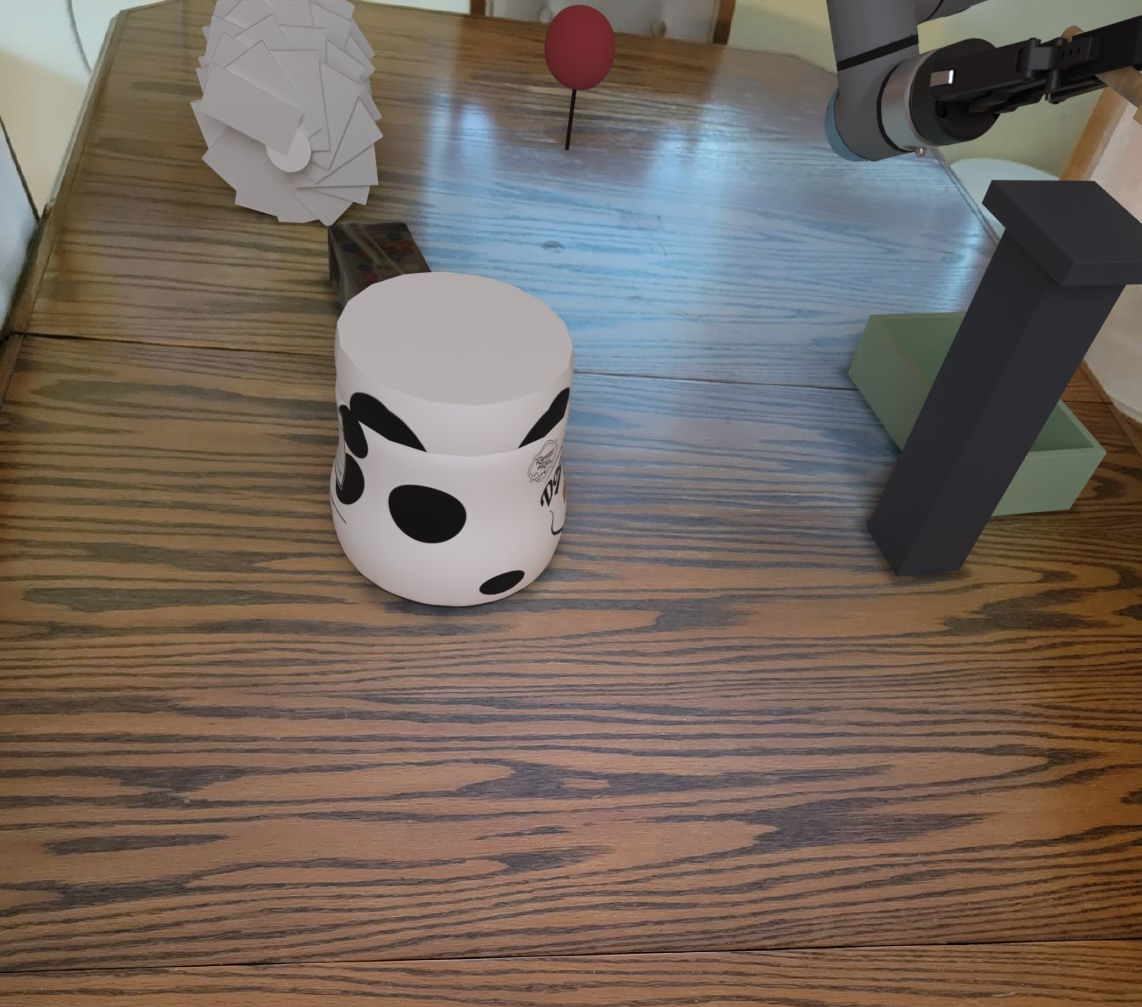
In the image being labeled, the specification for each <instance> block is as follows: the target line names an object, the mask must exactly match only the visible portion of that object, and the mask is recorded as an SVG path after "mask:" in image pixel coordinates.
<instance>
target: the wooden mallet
mask: <svg viewBox="0 0 1142 1007" xmlns="http://www.w3.org/2000/svg"><path fill="white" fill-rule="evenodd" d="M1084 32H1085V31H1084V30H1083V29H1082V28H1080V27H1079V26H1078V25H1071V26H1068V27H1067V28H1066V29H1064V31H1063V32H1062V33H1061V35H1060V37H1063V38H1067V39H1068V41H1067V43H1068V42H1071V41H1072V36H1074V35H1077V34H1080V33H1084ZM1095 76H1097V77H1098V78H1099V79H1100V80H1102V81H1103V82H1104V83H1106V84H1107V85H1108V86H1109V88H1110V89H1112V90H1113V91H1115V92H1116V93H1117V94H1118V95H1120V96H1121V97H1122V98H1124V99H1125V100H1127V101H1128V102H1129V103H1130V104H1132V105H1133V106H1134V107H1135V108H1137V109H1136V111H1135V113H1134V115H1133V116H1132V120H1134V121H1135V122H1136V123H1138V124H1139V125H1140V126H1142V72H1141V71H1138V70H1136V69H1135V68H1133V67H1132V66H1129V67H1125V68H1121V69H1117V70H1113V71H1108V72H1104V73H1101V74H1097V75H1095Z"/></svg>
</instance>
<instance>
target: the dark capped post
mask: <svg viewBox="0 0 1142 1007" xmlns="http://www.w3.org/2000/svg"><path fill="white" fill-rule="evenodd" d="M981 205H982V206H983V207H984V208H985V209H986V210H987V211H988V212H989V213H990V214H991V215H992V216H993V217H994V218H995V219H996V220H997V221H998V222H999V223H1000V224H1001V225H1002V227H1004V231H1003V232H1002V234H1001V237H1000V238H999V241H998V243H997V245H996V248H995V250H994V252H993V254H992V256H991V259H990V261H989V263H988V264H987V267H986V268H985V271H984V274H983V276H982V278H981V280H980V282H979V284H978V287H977V288H976V291H975V293H974V295H973V297H972V299H971V302H970V303H969V306H968V308H967V309H966V311H965V312H966V314H965V316H964V319H963V321H962V323H961V325H960V327H959V329H958V331H957V334H956V336H955V338H954V340H953V342H952V344H951V347H950V349H949V351H948V353H947V355H946V357H945V359H944V362H943V364H942V366H941V368H940V370H939V372H938V375H937V377H936V379H935V381H934V383H933V385H932V387H931V390H930V392H929V394H928V396H927V398H926V400H925V402H924V405H923V407H922V409H921V411H920V413H919V415H918V418H917V420H916V422H915V424H914V426H913V428H912V430H911V433H910V435H909V437H908V439H907V441H906V443H905V446H904V448H903V450H902V451H901V452H900V454H899V455H898V456H899V457H898V458H897V461H896V463H895V465H894V467H893V469H892V471H891V474H890V476H889V478H888V480H887V482H886V484H885V486H884V489H883V491H882V493H881V495H880V498H879V500H878V502H877V504H876V506H875V508H874V510H873V512H872V515H871V517H870V519H869V521H868V523H867V525H866V528H865V529H866V530H867V532H868V533H869V535H870V536H871V538H872V540H873V541H874V543H875V545H876V547H877V548H878V550H879V551H880V553H881V554H882V556H883V558H884V560H885V561H886V562H887V565H888V566H889V567H890V570H891V571H892V572H893V575H894V576H895V577H897V578H900V577H910V576H920V575H929V574H939V573H940V574H941V573H949V572H958V571H961V569H962V567H963V565H964V564H965V563H966V560H967V559H968V557H969V555H970V553H971V552H972V550H973V548H974V546H975V545H976V543H977V541H978V540H979V538H980V536H981V534H982V532H983V531H984V530H985V527H986V526H987V524H988V522H989V521H990V519H991V517H993V516H992V514H993V512H994V510H995V509H996V507H997V505H998V504H999V502H1000V500H1001V499H1002V497H1003V495H1004V493H1005V492H1006V490H1007V488H1008V487H1009V485H1010V483H1011V481H1012V480H1013V478H1014V476H1015V475H1016V473H1017V471H1018V469H1019V468H1020V466H1021V464H1022V463H1023V461H1024V459H1025V457H1026V456H1027V454H1028V452H1029V451H1030V449H1031V447H1032V445H1033V444H1034V442H1035V440H1036V439H1037V437H1038V435H1039V433H1040V432H1041V430H1042V428H1043V427H1044V425H1045V423H1046V421H1047V420H1048V418H1049V416H1050V415H1051V413H1052V411H1053V409H1054V408H1055V406H1056V404H1057V403H1058V401H1059V399H1061V398H1062V396H1063V394H1064V392H1065V391H1066V389H1067V388H1068V386H1069V384H1070V382H1071V380H1072V379H1073V378H1074V375H1075V373H1076V372H1077V370H1078V368H1079V367H1080V365H1081V363H1082V362H1083V360H1084V358H1085V356H1086V355H1087V354H1088V352H1089V349H1090V348H1091V346H1092V345H1093V343H1094V341H1095V340H1096V338H1097V336H1098V334H1099V332H1100V331H1101V329H1102V327H1103V325H1104V324H1105V323H1106V320H1107V319H1108V317H1109V316H1110V314H1111V312H1112V310H1113V308H1114V307H1115V305H1116V303H1117V301H1118V300H1119V298H1120V296H1121V295H1122V294H1123V291H1125V288H1126V286H1132V285H1133V286H1135V285H1136V286H1137V285H1138V286H1139V285H1142V222H1141V221H1140V220H1138V218H1136V217H1135V216H1134V214H1132V213H1131V212H1129V210H1127V209H1126V208H1125V206H1123V204H1121V203H1120V202H1119V201H1118V200H1116V199H1115V198H1114V197H1113V196H1112V195H1111V194H1110V193H1109V192H1108V191H1106V189H1104V188H1103V187H1102V186H1101V185H1100V184H1099V183H1098V182H1097V181H1096V180H1065V179H1064V180H1061V179H1060V180H1056V179H1055V180H1054V179H1053V180H1052V179H1051V180H1050V179H1049V180H1048V179H1042V180H1041V179H991V180H990V183H989V185H988V187H987V190H986V192H985V195H984V197H983V199H982V202H981Z"/></svg>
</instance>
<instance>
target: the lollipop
mask: <svg viewBox="0 0 1142 1007" xmlns="http://www.w3.org/2000/svg"><path fill="white" fill-rule="evenodd" d="M543 48H544V58H545V63H546V65H547V68H548V70H549V72H550V74H551V75H552V77H553V78H554V79H555V80H556V81H557V82H558V83H559V84H560V85H562V86H564V87H565V88H568V89H571V95H570V96H571V97H570V104H569V114H568V121H567V129H566V137H565V144H564V150H565V151H569V150H570V144H571V138H572V129H573V122H574V114H575V107H576V99H577V92H578V91H584V90H585V91H587V90H590V89H593V88H595V87H597V86H598V85H600V84H601V83H602V82H603V81H604V80H605V78H606V77H607V76H608V75H609V73H610V71H611V68H612V67H613V64H614V60H615V55H616V37H615V33H614V29H613V27H612V25H611V22H610V21H609V19H608V18H607V17H606V16H605V15H604V13H602V12H601V11H600V10H598V9H597V8H595V7H593V6H590V5H585V4H574V5H569V6H567V7H564V8H563V9H561V10H560V11H559V12H557V13H556V15H555V16H554V17H553V18H552V20H551V22H550V24H549V26H548V28H547V31H546V34H545V38H544V47H543Z"/></svg>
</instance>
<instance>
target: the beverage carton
mask: <svg viewBox="0 0 1142 1007" xmlns="http://www.w3.org/2000/svg"><path fill="white" fill-rule="evenodd" d="M327 253H328V254H327V255H328V258H327V259H328V269H329V282H330V284H331V286H332V289H333V291H334V293H335V295H336V297H337V300H338V302H339V305H340V308H341V311H343V310H344V308H345V306H346V305H347V303H348V301H349V300H351V299H352V298H353V297H355V296H356V295H358V294H359V293H360V292H362V291H363V290H365V289H366V288H368V287H369V286H370V285H372V284H375V283H378V282H382V281H385V280H388V279H391V278H394V277H397V276H401V275H404V274H416V273H429V272H432V270H431V268H430V266H429V264H428V263H427V260H426V259H425V257H424V255H423V254H422V252H421V250H420V248H419V246H418V244H417V243H416V241H415V239H414V237H413V234H412V232H411V231H410V229H409V227H408V225H407V223H406V222H399V221H397V222H396V221H395V222H394V221H393V222H379V223H376V222H375V223H369V222H368V223H367V222H366V223H360V222H359V221H356V220H347V221H346V222H344V223H340V224H332V225H329V226H327Z"/></svg>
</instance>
